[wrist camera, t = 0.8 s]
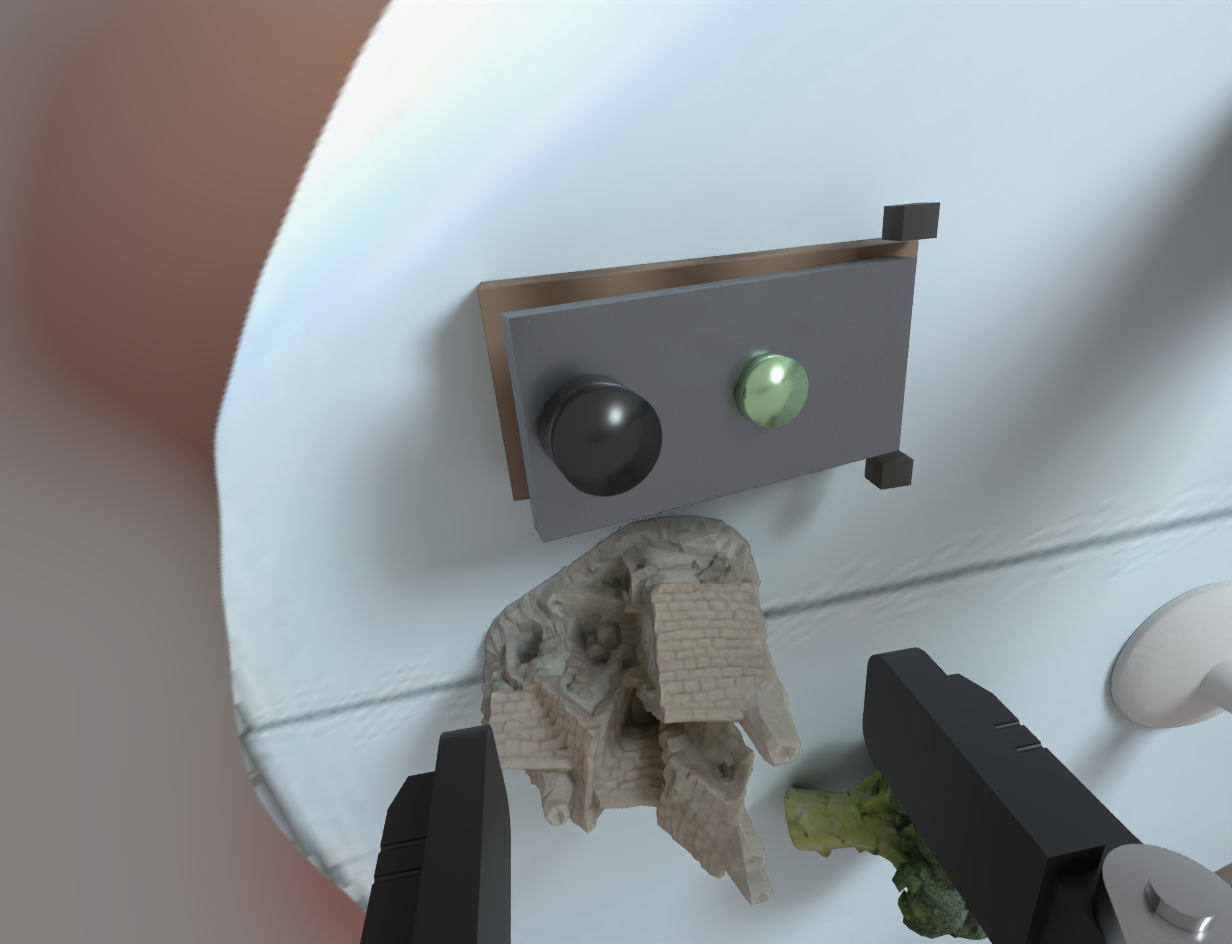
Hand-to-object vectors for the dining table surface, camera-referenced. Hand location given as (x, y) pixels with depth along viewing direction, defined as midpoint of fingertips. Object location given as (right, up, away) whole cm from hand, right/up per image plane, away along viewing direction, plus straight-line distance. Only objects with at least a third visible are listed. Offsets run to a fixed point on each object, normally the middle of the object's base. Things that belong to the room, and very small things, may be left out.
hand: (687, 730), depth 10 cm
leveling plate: (+3, +8, +17) cm, 19 cm away
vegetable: (+17, -18, +36) cm, 44 cm away
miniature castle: (-1, -5, +28) cm, 29 cm away
